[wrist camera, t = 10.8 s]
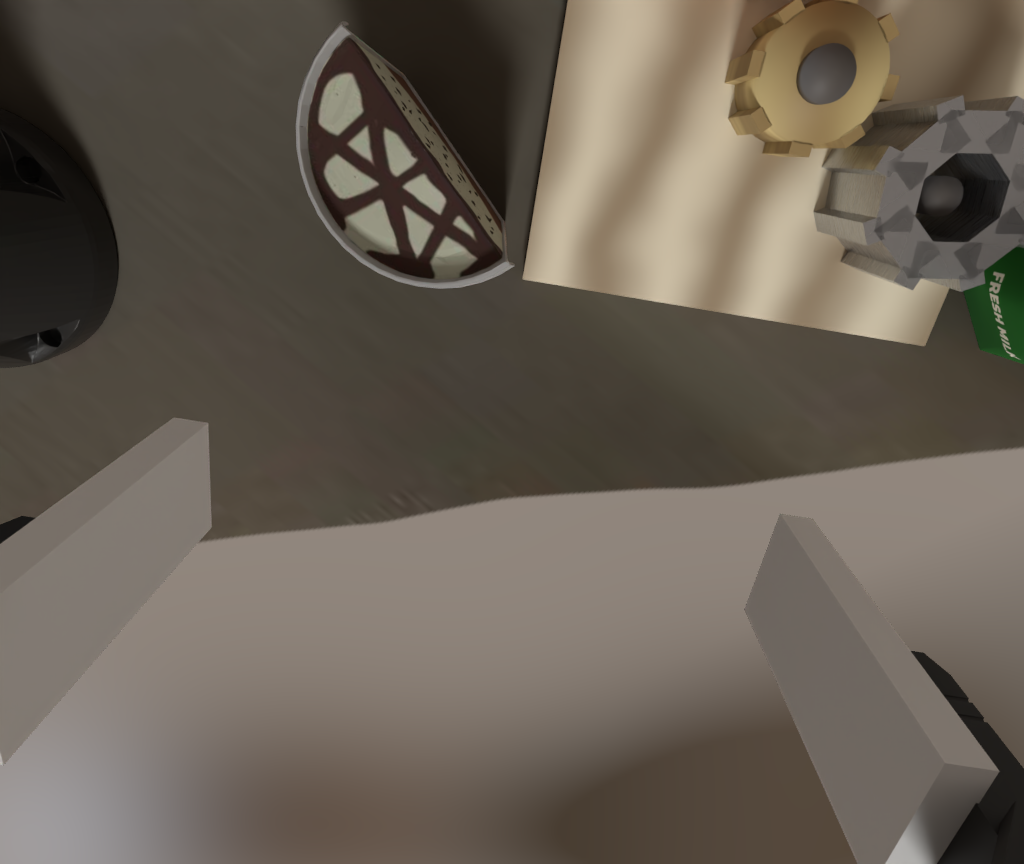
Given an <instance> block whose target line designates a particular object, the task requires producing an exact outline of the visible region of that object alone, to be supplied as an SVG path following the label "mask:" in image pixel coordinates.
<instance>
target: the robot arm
mask: <svg viewBox="0 0 1024 864" xmlns="http://www.w3.org/2000/svg"><path fill="white" fill-rule="evenodd" d="M117 278H118V261H117V251H116V245H115V240H114V236H113V232H112V229H111V226H110V223H109V220H108V217H107V215H106V212H105V210H104V208H103V206H102V203H101V201H100V199H99V198H98V196H97V194H96V192H95V190H94V189H93V187H92V186H91V184H90V182H89V181H88V179H87V178H86V177H85V175H84V174H83V172H82V171H81V170H80V169H79V167H78V166H77V165H76V164H75V162H74V161H73V160H72V159H71V158H70V157H69V156H68V155H67V154H66V153H65V152H64V151H63V150H62V149H61V148H60V147H59V146H58V145H57V144H56V143H55V142H54V141H53V140H52V139H50V138H49V137H48V136H47V135H45V134H44V133H43V132H42V131H40V130H39V129H37V128H36V127H35V126H33V125H32V124H30V123H28V122H27V121H25V120H23V119H22V118H20V117H18V116H16V115H14V114H12V113H10V112H8V111H6V110H4V109H1V108H0V368H12V367H21V366H26V365H32V364H36V363H39V362H42V361H45V360H48V359H50V358H53V357H55V356H58V355H60V354H62V353H65V352H67V351H69V350H71V349H73V348H75V347H77V346H79V345H80V344H82V343H83V342H85V341H86V340H87V339H88V338H90V337H91V336H92V335H93V334H94V333H95V332H96V331H97V329H98V328H99V327H100V326H101V324H102V323H103V321H104V320H105V318H106V316H107V314H108V312H109V310H110V308H111V305H112V303H113V299H114V296H115V291H116V286H117ZM210 528H211V497H210V466H209V435H208V423H205V422H199V421H192V420H186V419H180V418H173V419H171V420H170V421H169V422H167V423H166V424H164V425H163V426H162V427H160V428H159V429H158V430H156V431H155V432H153V433H152V434H151V435H149V436H148V437H147V438H145V439H144V440H142V441H141V442H140V443H138V444H137V445H136V446H134V447H133V448H131V449H130V450H129V451H127V452H126V453H125V454H123V455H122V456H120V457H119V458H118V459H116V460H115V461H114V462H112V463H111V464H109V465H108V466H107V467H105V468H104V469H103V470H101V471H100V472H98V473H97V474H96V475H94V476H93V477H92V478H90V479H89V480H87V481H86V482H85V483H83V484H82V485H81V486H79V487H78V488H76V489H75V490H74V491H72V492H71V493H70V494H68V495H67V496H65V497H64V498H63V499H61V500H60V501H59V502H57V503H56V504H54V505H53V506H52V507H50V508H49V509H48V510H46V511H45V512H43V513H42V514H41V515H39V516H38V517H37V518H32V517H26V516H21V517H18V518H16V519H13V520H11V521H8V522H6V523H3V524H1V525H0V765H4V764H5V763H6V762H7V761H8V760H9V758H10V757H11V756H12V755H13V753H15V752H16V750H17V749H18V748H19V747H20V746H21V745H22V743H23V742H24V741H25V740H26V739H27V738H28V737H29V735H30V734H31V733H32V732H33V731H34V730H35V729H36V727H37V726H38V725H39V724H40V723H41V722H42V721H43V719H44V718H45V717H46V716H47V715H48V714H49V713H50V711H51V710H52V709H53V708H54V707H55V706H56V705H57V703H58V702H59V701H60V700H61V699H62V698H63V697H64V695H65V694H66V693H67V692H68V691H69V690H70V689H71V687H72V686H73V685H74V684H75V683H76V682H77V681H78V679H79V678H80V677H81V676H82V675H83V674H84V673H85V671H86V670H87V669H88V668H89V667H90V666H91V665H92V663H93V662H94V661H95V660H96V659H97V658H98V657H99V655H100V654H101V653H102V652H103V651H104V650H105V649H106V647H107V646H108V645H109V644H110V643H111V642H112V640H113V639H114V638H115V637H116V636H117V635H118V634H119V632H120V631H121V630H122V629H123V628H124V627H125V625H126V624H127V623H128V622H129V621H130V620H131V619H132V617H133V616H134V615H135V614H136V613H137V612H138V611H139V610H140V608H141V607H142V606H143V605H144V604H145V603H146V602H147V600H148V599H149V598H150V597H151V596H152V595H153V594H154V592H155V591H156V590H157V589H158V588H159V587H160V585H161V584H162V583H163V582H164V581H165V580H166V579H167V577H168V576H169V575H170V574H171V573H172V572H173V570H174V569H175V568H176V567H177V566H178V565H179V564H180V563H181V562H182V560H183V559H184V558H185V557H186V556H187V555H188V554H189V552H190V551H191V550H192V549H193V548H194V547H195V545H196V544H197V543H198V542H199V541H200V540H201V539H202V537H203V536H204V535H205V534H206V533H207V532H208V531H209V529H210ZM744 610H745V612H746V614H747V617H748V619H749V621H750V623H751V625H752V627H753V630H754V632H755V635H756V637H757V639H758V641H759V643H760V646H761V648H762V650H763V652H764V655H765V657H766V659H767V661H768V664H769V666H770V668H771V670H772V673H773V675H774V677H775V679H776V682H777V684H778V686H779V688H780V690H781V693H782V695H783V697H784V700H785V702H786V704H787V706H788V708H789V711H790V713H791V715H792V717H793V720H794V722H795V724H796V726H797V729H798V731H799V733H800V735H801V738H802V740H803V742H804V744H805V747H806V749H807V751H808V753H809V756H810V758H811V760H812V762H813V765H814V767H815V769H816V771H817V774H818V776H819V778H820V780H821V782H822V785H823V787H824V789H825V792H826V794H827V796H828V798H829V800H830V803H831V805H832V807H833V810H834V812H835V814H836V816H837V818H838V821H839V823H840V825H841V827H842V830H843V832H844V834H845V836H846V838H847V841H848V843H849V845H850V848H851V850H852V852H853V854H854V857H855V859H856V861H857V863H858V864H1024V768H1023V767H1022V766H1021V765H1020V763H1019V762H1018V761H1017V759H1016V758H1015V757H1014V756H1013V754H1012V753H1011V752H1010V751H1009V749H1008V748H1007V747H1006V746H1005V744H1004V743H1003V742H1002V741H1001V739H1000V738H999V736H998V735H997V734H996V733H995V731H994V730H993V729H992V728H991V726H990V725H989V724H988V723H986V722H984V721H983V719H984V717H983V716H982V715H981V714H980V712H979V711H978V710H977V708H976V707H975V706H974V705H973V703H969V702H968V697H967V696H966V694H965V693H964V692H963V691H962V689H961V688H960V687H959V685H958V684H957V683H956V682H955V680H954V679H953V678H952V676H951V675H950V674H949V673H947V672H946V671H945V670H944V669H942V668H941V667H940V666H939V665H937V663H935V662H934V661H933V660H932V659H930V658H929V657H928V656H926V654H924V653H921V652H915V651H910V650H909V648H908V647H907V646H906V644H905V643H904V642H903V640H902V639H901V638H900V636H899V635H898V633H897V632H896V631H895V629H894V628H893V627H892V625H891V624H890V623H889V621H888V620H887V619H886V618H885V616H884V615H883V613H882V612H881V610H880V609H879V608H878V606H877V605H876V604H875V602H874V601H873V600H872V598H871V597H870V596H869V594H868V593H867V592H866V590H865V589H864V588H863V586H862V585H861V584H860V582H859V581H858V579H857V578H856V577H855V575H854V574H853V573H852V571H851V570H850V569H849V568H848V566H847V565H846V563H845V562H844V561H843V559H842V558H841V557H840V555H839V554H838V552H837V551H836V550H835V549H834V547H833V546H832V544H831V543H830V542H829V540H828V539H827V538H826V536H825V535H824V534H823V532H822V531H821V530H820V528H819V527H818V526H817V524H816V523H815V521H814V520H813V519H810V518H803V517H797V516H791V515H784V514H780V515H779V518H778V521H777V523H776V526H775V529H774V531H773V534H772V537H771V539H770V542H769V545H768V548H767V550H766V553H765V556H764V558H763V561H762V564H761V566H760V569H759V572H758V574H757V577H756V580H755V583H754V585H753V588H752V591H751V593H750V596H749V599H748V601H747V604H746V607H745V609H744Z"/></svg>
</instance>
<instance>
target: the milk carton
mask: <svg viewBox="0 0 1024 864" xmlns="http://www.w3.org/2000/svg"><path fill="white" fill-rule="evenodd" d="M984 276H985V284H982V285H979V286H976V287H973V288H970V289H967V290H965V291H963V292H964V295H965V299H966V302H967V306H968V309H969V313H970V316H971V320H972V323H973V327H974V330H975V334H976V338H977V341H978V345H979V348H980V350H983V351H986V352H989V353H992V354H995V355H998V356H1001V357H1004V358H1007V359H1010V360H1013V361H1016V362H1019V363H1022V364H1024V248H1022V247H1017V246H1016V247H1015V248H1014V249H1012V250H1011V251H1010V252H1008V253H1007V254H1006V255H1004V256H1003V257H1002V258H1000V259H999V260H998V261H996V262H995V263H994V264H992V265H991V266H990V267H988V268H987V269H986V270H984Z"/></svg>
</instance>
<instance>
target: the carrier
mask: <svg viewBox="0 0 1024 864" xmlns="http://www.w3.org/2000/svg"><path fill="white" fill-rule="evenodd" d="M960 95H963V96H964V102H969V101H978V100H986V99H995V98H1003V97H1012V96H1019V97H1020V98H1022V99H1024V0H568V2H567V8H566V14H565V21H564V27H563V33H562V39H561V45H560V51H559V58H558V64H557V70H556V76H555V82H554V88H553V95H552V101H551V107H550V113H549V119H548V125H547V132H546V138H545V144H544V150H543V156H542V162H541V169H540V175H539V181H538V187H537V193H536V199H535V206H534V212H533V218H532V224H531V230H530V236H529V243H528V249H527V255H526V261H525V267H524V273H523V279H524V280H530V281H536V282H542V283H548V284H554V285H560V286H566V287H572V288H578V289H584V290H590V291H596V292H602V293H608V294H614V295H620V296H626V297H632V298H638V299H644V300H650V301H656V302H662V303H668V304H674V305H680V306H686V307H692V308H698V309H704V310H710V311H716V312H722V313H728V314H734V315H740V316H746V317H752V318H758V319H764V320H770V321H776V322H782V323H788V324H794V325H800V326H806V327H812V328H818V329H824V330H830V331H836V332H842V333H848V334H854V335H860V336H866V337H872V338H878V339H884V340H890V341H896V342H902V343H908V344H914V345H920V346H925V344H926V342H927V340H928V337H929V335H930V333H931V330H932V328H933V326H934V323H935V321H936V318H937V316H938V314H939V311H940V309H941V307H942V304H943V302H944V300H945V297H946V295H947V293H948V290H949V288H948V287H945V286H942V285H939V284H936V283H933V282H930V281H927V280H924V279H922V278H921V279H920V281H919V282H918V284H917V285H916V287H915V288H914V289H913V290H910V289H907V288H905V287H902V286H899V285H897V284H894V283H891V282H889V281H886V280H883V279H881V278H878V277H875V276H873V275H870V274H867V273H864V272H862V271H859V270H857V269H855V268H852V267H850V266H848V265H846V264H844V263H842V262H841V260H842V258H843V257H844V255H845V254H846V252H847V250H846V249H845V248H844V246H843V245H842V244H841V242H840V241H839V240H838V238H837V237H835V236H832V235H828V234H825V233H821V232H818V231H817V228H816V223H815V218H814V213H813V212H814V211H817V210H820V209H822V208H825V204H826V199H827V194H828V189H829V184H830V179H831V174H832V172H831V171H829V170H827V169H825V168H823V167H822V166H823V164H824V162H825V161H826V159H827V157H828V155H829V154H830V152H831V150H832V149H833V148H847V147H848V146H851V145H852V144H853V143H854V142H856V141H857V140H859V139H860V138H861V137H863V136H864V135H866V134H865V133H866V132H867V131H868V130H869V129H871V128H872V127H873V126H874V123H873V117H872V113H873V112H876V111H878V110H881V109H883V108H886V107H888V106H891V105H893V104H900V103H907V102H915V101H922V100H930V99H937V98H945V97H953V96H960ZM962 198H963V186H962V184H961V182H960V181H959V180H958V179H956V178H954V177H950V176H935V174H934V173H931V174H930V175H929V176H928V177H927V178H925V179H924V182H923V186H922V190H921V194H920V198H919V202H918V206H917V210H916V214H915V217H917V216H918V215H919V214H925V215H931V216H945V215H947V214H949V213H951V212H953V211H954V210H955V209H956V208H957V207H958V205H959V204H960V202H961V200H962Z"/></svg>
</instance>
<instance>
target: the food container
mask: <svg viewBox="0 0 1024 864" xmlns="http://www.w3.org/2000/svg"><path fill="white" fill-rule="evenodd" d="M347 26H348V23H347V22H346V21H342V22H340V24H339V25H338V26H337V27H336V28H335V29H334V30H333V31H332V32H331V33H330V35H329V36H328V37H327V38H326V39H325V41H324V43H323V44H322V46H321V47H320V49H319V50H318V52H317V53H316V55H315V56H314V58H313V61H312V63H311V65H310V67H309V70H308V72H307V74H306V76H305V79H304V82H303V86H302V90H301V94H300V97H299V101H298V110H297V119H296V145H297V153H298V159H299V165H300V170H301V174H302V177H303V180H304V183H305V186H306V189H307V192H308V195H309V197H310V199H311V201H312V203H313V205H314V207H315V209H316V211H317V213H318V215H319V217H320V218H321V219H322V221H323V222H324V224H325V225H326V227H327V228H328V230H329V231H330V233H331V234H332V235H333V236H334V237H335V238H336V239H337V241H338V242H339V243H340V244H341V245H342V246H343V247H344V248H345V249H346V250H347V251H348V252H349V253H351V254H352V255H353V256H354V257H355V258H356V259H358V260H359V261H360V262H361V263H363V264H365V265H366V266H368V267H369V268H371V269H373V270H374V271H376V272H377V273H379V274H382V275H384V276H386V277H389V278H391V279H393V280H396V281H398V282H402V283H406V284H410V285H414V286H419V287H429V288H441V289H442V288H457V287H464V286H469V285H473V284H477V283H481V282H484V281H486V280H489V279H491V278H493V277H496V276H498V275H500V274H502V273H504V272H505V271H507V270H509V269H510V268H512V267H514V266H515V265H514V263H510V262H508V260H507V245H506V229H505V222H504V220H503V219H502V217H501V216H500V214H499V213H498V211H497V210H496V208H495V207H494V205H493V204H492V202H491V201H490V200H489V198H488V197H487V195H486V194H485V192H484V191H483V189H482V188H481V186H480V185H479V183H478V182H477V180H476V179H475V177H474V176H473V175H472V173H471V172H470V170H469V169H468V167H467V166H466V164H465V163H464V161H463V160H462V158H461V157H460V155H459V154H458V152H457V151H456V150H455V148H454V147H453V145H452V144H451V142H450V141H449V139H448V138H447V136H446V135H445V133H444V132H443V130H442V129H441V128H440V126H439V125H438V123H437V122H436V120H435V119H434V117H433V116H432V114H431V113H430V111H429V110H428V108H427V107H426V105H425V104H424V103H423V101H422V100H421V98H420V97H419V95H418V94H417V92H416V91H415V89H414V88H413V86H412V85H411V83H410V82H409V81H408V79H407V78H406V76H405V75H404V74H403V73H402V72H401V71H399V70H398V69H397V68H396V67H394V66H393V65H392V64H391V63H389V62H388V61H387V60H386V59H384V58H383V57H382V56H381V55H379V54H378V53H377V52H376V51H374V50H373V49H372V48H371V47H369V46H368V45H367V44H366V43H364V42H363V41H362V40H361V39H359V38H358V37H357V36H356V35H354V34H353V33H352V32H351V31H349V30H348V29H347Z"/></svg>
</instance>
